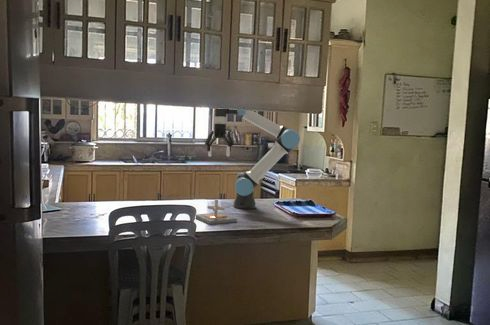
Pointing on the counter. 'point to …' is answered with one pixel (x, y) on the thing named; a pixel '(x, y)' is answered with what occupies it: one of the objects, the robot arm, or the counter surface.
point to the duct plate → (215, 218)
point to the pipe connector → (216, 208)
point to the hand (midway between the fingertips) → (218, 156)
